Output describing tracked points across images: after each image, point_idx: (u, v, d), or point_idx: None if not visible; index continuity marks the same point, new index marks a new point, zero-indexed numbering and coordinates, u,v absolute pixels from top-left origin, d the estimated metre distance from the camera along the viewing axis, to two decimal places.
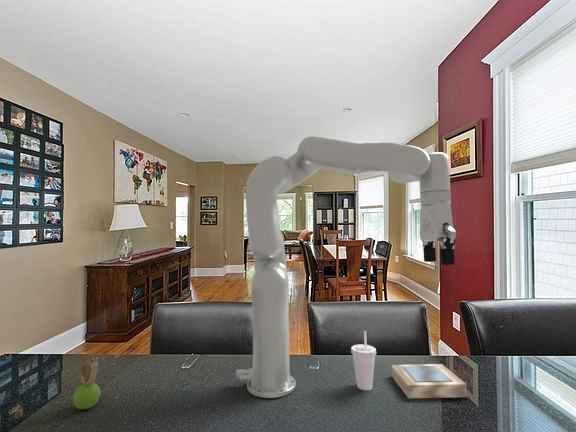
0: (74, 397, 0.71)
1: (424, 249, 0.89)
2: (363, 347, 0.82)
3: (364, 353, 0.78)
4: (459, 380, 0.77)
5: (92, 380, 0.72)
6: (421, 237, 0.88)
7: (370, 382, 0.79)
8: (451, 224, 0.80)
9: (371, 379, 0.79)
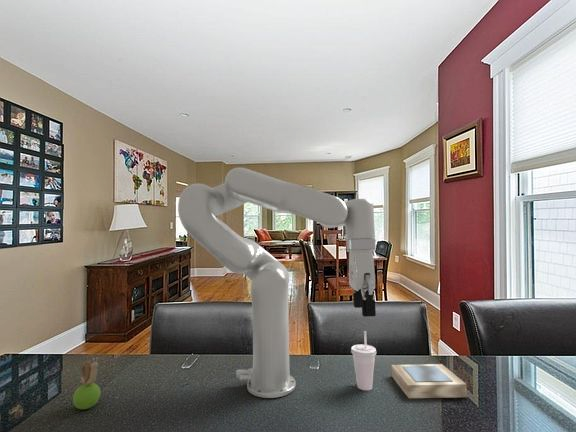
0: (74, 397, 0.71)
1: (354, 294, 0.87)
2: (363, 347, 0.82)
3: (364, 353, 0.78)
4: (459, 380, 0.77)
5: (92, 380, 0.72)
6: (349, 283, 0.86)
7: (370, 382, 0.79)
8: (372, 274, 0.78)
9: (371, 379, 0.79)
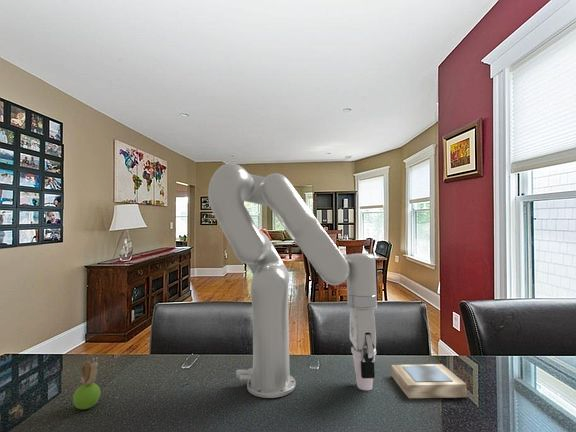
0: (74, 397, 0.71)
1: None
2: (363, 347, 0.82)
3: (364, 353, 0.78)
4: (459, 380, 0.77)
5: (92, 380, 0.72)
6: (350, 337, 0.85)
7: (370, 382, 0.79)
8: (373, 334, 0.77)
9: (371, 379, 0.79)
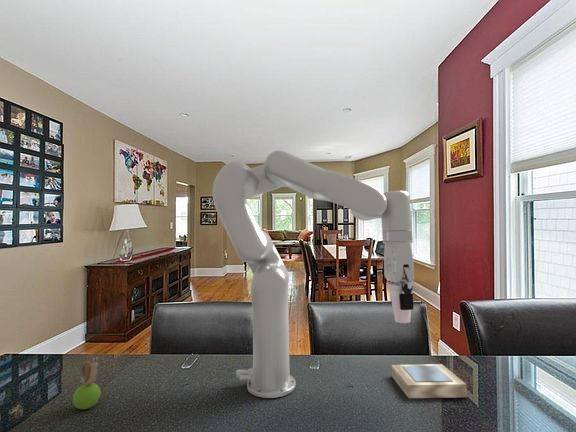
0: (74, 397, 0.71)
1: None
2: None
3: None
4: (459, 380, 0.77)
5: (92, 380, 0.72)
6: (385, 275, 0.86)
7: (408, 315, 0.80)
8: (411, 265, 0.78)
9: (409, 312, 0.80)
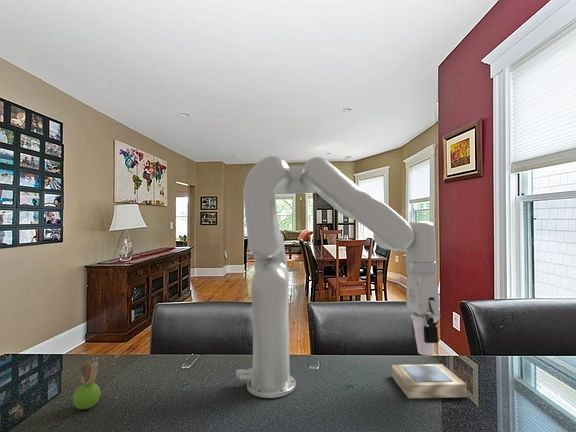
0: (74, 397, 0.71)
1: None
2: None
3: None
4: (459, 380, 0.77)
5: (92, 380, 0.72)
6: (408, 305, 0.85)
7: (432, 347, 0.80)
8: (437, 298, 0.77)
9: (433, 344, 0.80)
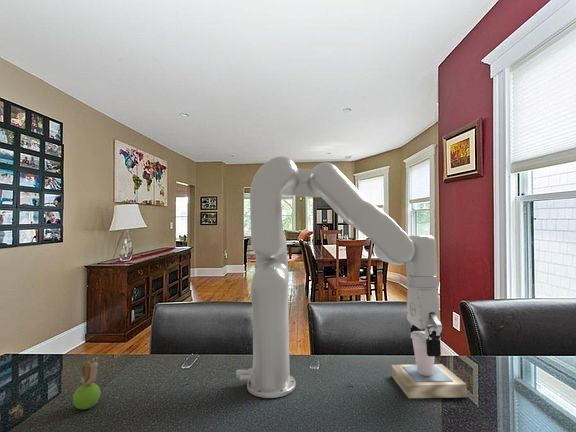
0: (74, 397, 0.71)
1: (411, 329, 0.86)
2: (423, 333, 0.82)
3: (426, 338, 0.79)
4: (459, 380, 0.77)
5: (92, 380, 0.72)
6: (408, 318, 0.85)
7: (432, 367, 0.80)
8: (437, 313, 0.77)
9: (433, 364, 0.80)
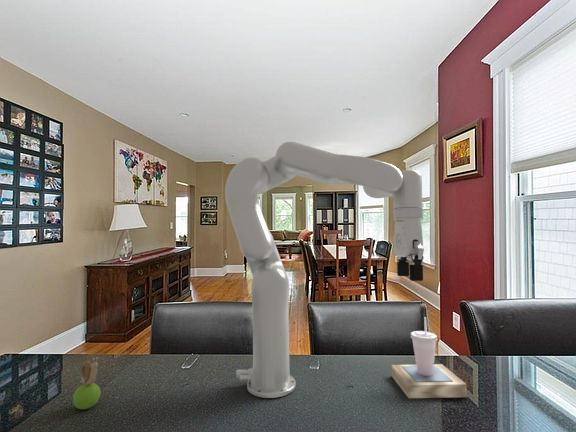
0: (74, 397, 0.71)
1: (398, 263, 0.90)
2: (423, 333, 0.82)
3: (426, 338, 0.79)
4: (459, 380, 0.77)
5: (92, 380, 0.72)
6: (394, 252, 0.89)
7: (432, 367, 0.80)
8: (421, 241, 0.81)
9: (433, 364, 0.80)
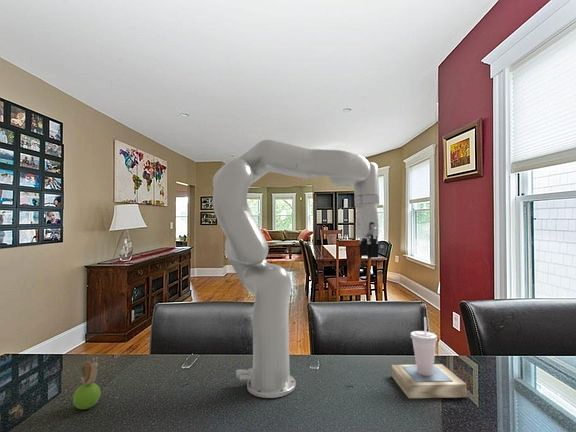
0: (74, 397, 0.71)
1: (360, 245, 1.03)
2: (423, 333, 0.82)
3: (426, 338, 0.79)
4: (459, 380, 0.77)
5: (92, 380, 0.72)
6: (356, 234, 1.02)
7: (432, 367, 0.80)
8: (376, 223, 0.94)
9: (433, 364, 0.80)
